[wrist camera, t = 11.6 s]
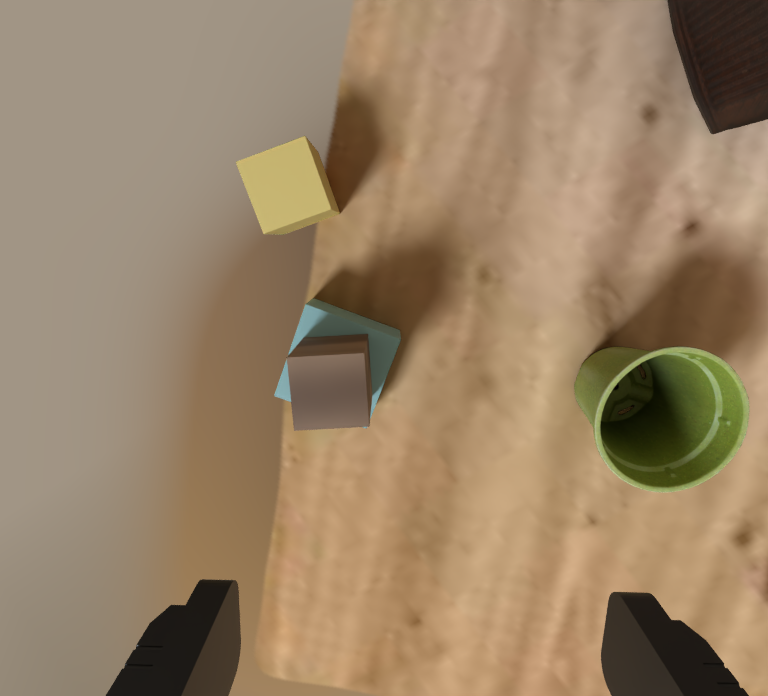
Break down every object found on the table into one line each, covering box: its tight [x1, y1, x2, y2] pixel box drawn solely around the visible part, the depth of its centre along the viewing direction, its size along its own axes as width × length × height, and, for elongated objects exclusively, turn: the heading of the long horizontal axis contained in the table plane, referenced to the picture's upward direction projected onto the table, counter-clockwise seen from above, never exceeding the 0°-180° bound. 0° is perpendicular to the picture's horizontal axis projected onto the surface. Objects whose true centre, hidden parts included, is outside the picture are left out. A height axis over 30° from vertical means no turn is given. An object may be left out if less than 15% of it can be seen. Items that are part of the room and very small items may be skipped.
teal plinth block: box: [274, 298, 401, 428], centre depth 38 cm, size 7×7×4 cm
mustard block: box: [236, 136, 340, 235], centre depth 34 cm, size 4×4×6 cm
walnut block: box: [287, 334, 372, 431], centre depth 33 cm, size 4×4×6 cm
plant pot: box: [574, 346, 749, 492], centre depth 36 cm, size 9×9×9 cm
